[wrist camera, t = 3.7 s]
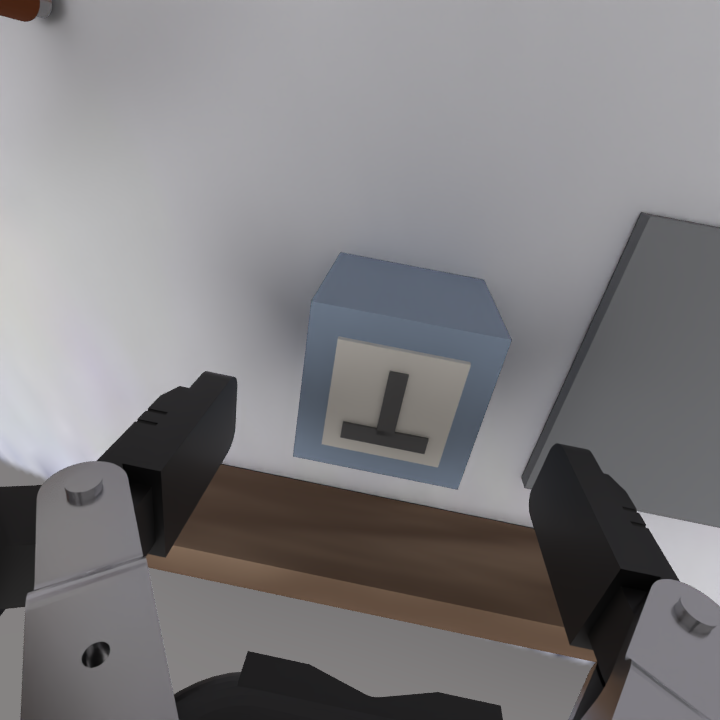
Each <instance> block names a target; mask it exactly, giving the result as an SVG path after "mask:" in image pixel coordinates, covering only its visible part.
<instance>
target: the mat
mask: <svg viewBox="0 0 720 720" xmlns="http://www.w3.org/2000/svg"><path fill="white" fill-rule="evenodd" d="M556 443H559V444H564V445H569V446H574V447H578V448H583V449H588V450H590V451H591V453H592V454H593V456H594V458H595V459H596V461H597V463H598V465H599V466H600V468H601V470H602V472H603V473H604V474H609V475H610V476H611V477H612V478H613V479H614V480H615V481H616V482H617V483H618V484H619V485H620V486H621V487H622V488H623V489H624V490H625V491H626V492H627V494H628V495H629V497H630V499H631V500H632V502H633V504H634V505H635V507H636V509H637V511H640V512H645V513H650V514H655V515H659V516H664V517H669V518H674V519H679V520H684V521H689V522H694V523H699V524H704V525H708V526H713V527H718V528H720V228H719V227H714V226H709V225H704V224H698V223H693V222H688V221H683V220H677V219H672V218H667V217H662V216H656V215H651V214H646V213H641V215H640V217H639V219H638V221H637V224H636V226H635V228H634V230H633V232H632V235H631V237H630V239H629V241H628V243H627V246H626V248H625V250H624V252H623V254H622V257H621V259H620V261H619V263H618V266H617V268H616V270H615V272H614V274H613V277H612V279H611V281H610V283H609V285H608V288H607V290H606V292H605V294H604V297H603V299H602V301H601V303H600V305H599V308H598V310H597V312H596V314H595V316H594V319H593V321H592V323H591V325H590V327H589V330H588V332H587V334H586V336H585V339H584V341H583V343H582V345H581V347H580V350H579V352H578V354H577V356H576V358H575V361H574V363H573V365H572V367H571V370H570V372H569V374H568V376H567V378H566V381H565V383H564V385H563V387H562V389H561V392H560V394H559V396H558V398H557V401H556V403H555V405H554V407H553V409H552V412H551V414H550V416H549V418H548V420H547V423H546V425H545V427H544V429H543V431H542V434H541V436H540V438H539V440H538V443H537V445H536V447H535V449H534V451H533V454H532V456H531V458H530V460H529V462H528V465H527V467H526V469H525V471H524V474H523V476H522V481H523V484H524V488H527V489H532V487H533V485H534V483H535V481H536V479H537V477H538V474H539V472H540V470H541V468H542V466H543V464H544V461H545V459H546V457H547V455H548V453H549V451H550V449H551V447H552V446H553V445H554V444H556Z"/></svg>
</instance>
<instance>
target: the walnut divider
mask: <svg viewBox="0 0 720 720" xmlns="http://www.w3.org/2000/svg"><path fill="white" fill-rule="evenodd" d="M146 560H147V564H148V567H149V568H154V569H158V570H163V571H168V572H173V573H177V574H182V575H187V576H192V577H197V578H201V579H206V580H210V581H216V582H220V583H225V584H230V585H234V586H239V587H244V588H249V589H253V590H258V591H263V592H267V593H272V594H276V595H282V596H286V597H291V598H296V599H300V600H305V601H310V602H315V603H319V604H324V605H329V606H333V607H338V608H343V609H348V610H352V611H357V612H362V613H367V614H371V615H376V616H381V617H386V618H390V619H395V620H399V621H404V622H409V623H414V624H419V625H423V626H428V627H433V628H437V629H442V630H447V631H451V632H456V633H461V634H466V635H470V636H475V637H480V638H485V639H489V640H494V641H499V642H503V643H508V644H513V645H518V646H522V647H527V648H532V649H537V650H541V651H546V652H551V653H555V654H560V655H565V656H570V657H574V658H579V659H584V660H589V661H593V662H596V661H597V660H596V657H595V654H594V651H593V650H590V649H585V648H580V647H575V646H571V645H570V644H569V641H568V638H567V635H566V631H565V628H564V625H563V622H562V618H561V615H560V612H559V608H558V605H557V602H556V599H555V595H554V592H553V589H552V586H551V582H550V579H549V576H548V572H547V569H546V566H545V563H544V559H543V556H542V553H541V549H540V546H539V543H538V540H537V536H536V533H535V530H534V529H533V528H528V527H523V526H518V525H514V524H509V523H504V522H499V521H494V520H489V519H484V518H479V517H475V516H470V515H465V514H460V513H455V512H450V511H445V510H441V509H436V508H431V507H426V506H421V505H416V504H411V503H407V502H402V501H397V500H392V499H387V498H382V497H377V496H373V495H368V494H363V493H358V492H353V491H348V490H343V489H339V488H334V487H329V486H324V485H319V484H314V483H309V482H305V481H300V480H295V479H290V478H285V477H280V476H275V475H271V474H266V473H261V472H256V471H251V470H246V469H241V468H237V467H232V466H227V465H222V464H221V465H220V467H219V468H218V470H217V472H216V473H215V475H214V477H213V478H212V480H211V482H210V484H209V485H208V487H207V489H206V490H205V492H204V494H203V495H202V497H201V499H200V500H199V502H198V504H197V506H196V507H195V509H194V511H193V512H192V514H191V516H190V517H189V519H188V521H187V522H186V524H185V526H184V528H183V529H182V531H181V533H180V534H179V536H178V538H177V539H176V541H175V543H174V545H173V546H172V548H171V550H170V551H169V553H168V555H167V556H166V558H164V557H160V556H155V555H150V554H147V556H146Z"/></svg>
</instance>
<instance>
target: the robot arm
mask: <svg viewBox="0 0 720 720" xmlns="http://www.w3.org/2000/svg"><path fill="white" fill-rule="evenodd" d="M236 401H237V380H236V378H235V377H232V376H227V375H222V374H217V373H212V372H207V371H205V372H204V373H202V374H201V376H200V377H199V378H198V379H197V380H196V381H195V382H194V383H193V385H192V386H191V387H190V388H186V387H181V386H179V387H177V388H175V389H173V390H171V391H169V392H167V393H165V394H163V395H161V396H160V397H159V398H158V399H157V400H156V401H155V402H154V403H153V404H152V405H151V406H150V407H149V408H148V411H145V412H144V413H143V414H142V415H141V416H140V417H139V418H138V421H137V422H134V423H133V424H132V425H131V426H130V427H129V428H128V429H127V430H126V432H125V433H124V434H123V435H122V436H121V437H120V438H119V439H118V440H117V441H116V442H115V443H114V444H113V445H112V446H111V447H110V448H109V449H108V450H107V451H106V452H105V453H104V454H103V455H102V456H101V457H100V458H99V459H98V460H97V461H90V462H83V463H79V464H75V465H72V466H69V467H67V468H64V469H62V470H60V471H58V472H57V473H55V474H54V475H52V476H51V477H50V478H48V479H47V480H46V481H45V482H44V483H43V485H36V486H12V487H0V615H1V614H2V613H3V612H4V610H5V609H8V608H17V607H25V622H24V646H23V669H22V670H23V671H22V694H21V718H20V720H503V718H502V712H501V706H499V705H495V704H490V703H486V702H481V701H476V700H472V699H467V698H462V697H458V696H453V695H449V694H444V693H439V692H435V693H424V694H412V695H401V696H390V697H371V696H368V695H365V694H363V693H362V692H360V691H358V690H356V689H354V688H352V687H350V686H349V685H347V684H345V683H343V682H341V681H339V680H337V679H336V678H334V677H332V676H330V675H328V674H326V673H324V672H322V671H321V670H319V669H317V668H315V667H313V666H311V665H309V664H305V663H300V662H296V661H291V660H286V659H282V658H277V657H272V656H268V655H263V654H259V653H254V652H249V651H248V653H247V656H246V659H245V662H244V665H243V669H242V671H241V672H235V673H227V674H223V675H219V676H214V677H211V678H208V679H205V680H202V681H200V682H197V683H195V684H193V685H191V686H189V687H187V688H185V689H183V690H181V691H179V692H177V693H176V694H174V693H173V688H172V683H171V678H170V673H169V668H168V664H167V658H166V653H165V648H164V644H163V638H162V634H161V629H160V623H159V619H158V614H157V609H156V604H155V599H154V594H153V589H152V584H151V579H150V574H149V569H148V564H147V560H146V556H147V554H150V555H155V556H160V557H164V558H166V556H167V555H168V553H169V551H170V550H171V548H172V546H173V545H174V543H175V541H176V539H177V538H178V536H179V534H180V533H181V531H182V529H183V528H184V526H185V524H186V522H187V521H188V519H189V517H190V516H191V514H192V512H193V511H194V509H195V507H196V506H197V504H198V502H199V500H200V499H201V497H202V495H203V494H204V492H205V490H206V489H207V487H208V485H209V484H210V482H211V480H212V478H213V477H214V475H215V473H216V472H217V470H218V468H219V467H220V465H221V463H222V462H223V460H224V458H225V456H226V455H227V453H228V451H229V449H230V447H231V444H232V441H233V438H234V433H235V424H236ZM636 511H637V509H636V507H635V505H634V504H633V502H632V500H631V499H630V497H629V495H628V494H627V492H626V491H625V490H624V489H623V488H622V487H621V486H620V485H619V484H618V483H617V482H616V481H615V480H614V479H613V478H612V477H611V476H610V475H609V474H604V473H603V472H602V470H601V468H600V466H599V465H598V463H597V461H596V459H595V458H594V456H593V454H592V453H591V451H590V450H588V449H583V448H578V447H574V446H569V445H564V444H559V443H556V444H554V445H553V446H552V447H551V449H550V451H549V453H548V455H547V457H546V459H545V461H544V464H543V466H542V468H541V470H540V472H539V474H538V477H537V479H536V481H535V483H534V485H533V487H532V490H531V493H530V498H529V513H530V517H531V520H532V523H533V527H534V530H535V533H536V536H537V540H538V543H539V546H540V549H541V553H542V556H543V559H544V563H545V566H546V569H547V572H548V576H549V579H550V582H551V586H552V589H553V592H554V595H555V599H556V602H557V605H558V608H559V612H560V615H561V618H562V622H563V625H564V628H565V631H566V635H567V638H568V641H569V644H570V645H571V646H575V647H580V648H585V649H590V650H593V651H594V654H595V657H596V660H597V661H596V663H595V664H594V665H593V667H592V668H591V670H590V672H589V674H588V676H587V678H586V681H585V683H584V685H583V687H582V690H581V692H580V694H579V696H578V699H577V701H576V703H575V705H574V708H573V710H572V712H571V715H570V717H569V719H568V720H720V606H719V605H718V604H716V603H715V602H714V601H713V600H712V599H710V598H709V597H708V596H706V595H705V594H704V593H702V592H701V591H699V590H697V589H695V588H694V587H692V586H690V585H687V584H685V583H682V582H680V581H679V579H678V578H677V576H676V574H675V573H674V571H673V569H672V567H671V566H670V564H669V562H668V561H667V559H666V557H665V556H664V554H663V552H662V551H661V549H660V547H659V546H658V544H657V542H656V541H655V539H654V537H653V536H652V534H651V532H650V531H649V529H648V528H646V527H645V526H646V524H645V522H644V521H643V519H642V517H641V516H640V514H639V513H637V512H636Z"/></svg>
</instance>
